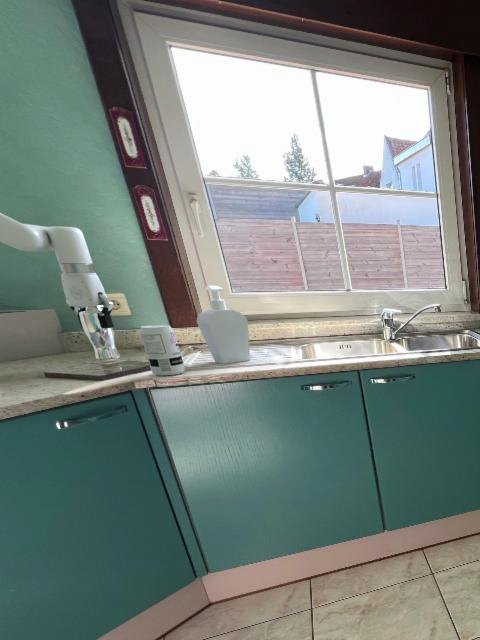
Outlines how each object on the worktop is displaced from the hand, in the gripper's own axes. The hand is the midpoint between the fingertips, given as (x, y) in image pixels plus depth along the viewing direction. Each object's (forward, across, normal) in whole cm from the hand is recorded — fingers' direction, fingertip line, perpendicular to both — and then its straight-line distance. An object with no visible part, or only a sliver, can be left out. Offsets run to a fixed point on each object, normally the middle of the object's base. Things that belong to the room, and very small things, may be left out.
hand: (97, 326), depth 160 cm
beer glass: (+10, 0, 0) cm, 10 cm away
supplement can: (+13, +27, -5) cm, 30 cm away
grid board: (+13, +7, -7) cm, 16 cm away
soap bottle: (+13, +29, +17) cm, 36 cm away
